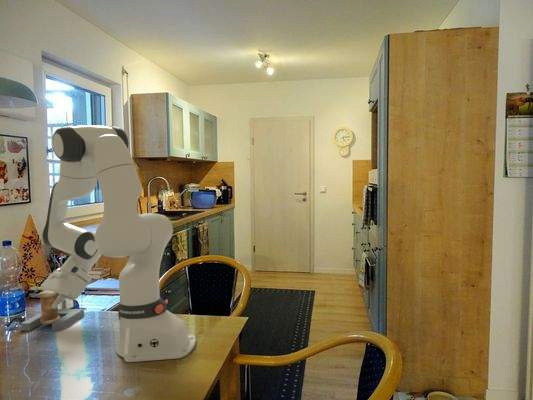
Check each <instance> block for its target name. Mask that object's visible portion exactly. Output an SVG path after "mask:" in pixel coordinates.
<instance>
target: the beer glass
mask: <svg viewBox="0 0 533 400" xmlns="http://www.w3.org/2000/svg"><path fill="white" fill-rule="evenodd" d="M59 269H60V268H56V269H55V270H53V272H56V271H58V270H59ZM53 272H52V273H53ZM57 298H58V296H57ZM74 305H75V304H74V300H71V299H67V298H66V299H65V300H64V301H63V302H62V303H60V304H59V305H58V309H73V308H74Z"/></svg>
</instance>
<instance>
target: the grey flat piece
mask: <svg viewBox="0 0 533 400" xmlns="http://www.w3.org/2000/svg"><path fill="white" fill-rule="evenodd" d="M58 315H59V316H60V319H58V320H57V321H55V322H53V323H51V331H52V332H55V331H57V332H60V331H63V330H65V329H66V328H68V327H70V326H71V325H72V324H74V323H75V322H77V321H78V320H80V319H82V318H83V317H84V316H85V310H84V308H70V309H58ZM41 319H42V315H41V312H40V313H38V314H36V315H33V316H32V317H30V318H28V319H26V320H24V321H22V322H20V331H22V332H26V331H27V332H30V331H31V330H34V329H35V328H36V327H39V326H41V325H42V324H41Z"/></svg>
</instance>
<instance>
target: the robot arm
mask: <svg viewBox="0 0 533 400" xmlns="http://www.w3.org/2000/svg"><path fill="white" fill-rule="evenodd" d="M51 140H52V141H51V145H52V149H53V153H54V154H55V156H56V157H57V158H58V159H59V160H60V162H59V164H60V165H59V178H58V181H57V182H55V183H54V184H53V186H52V188H51V191H50V196H49V201H48V202H49V203H48V210H47V215H46V220H45V225H44V228H43V230H42V241H43V242H44V245H45V246H46V247H49V248H52V249H56V250H59V251H62V252H65V253H66V254H70V256H69V257H68V258H67V259H66V260H65V262H64V263H63V264H62V265H61V267H59V268H58V269H59V270H58V271H56V272H52V273H50V274H49V276H47V278H46V279H45V280H44V281H43V282H42V283H41V285H40V289H41V290H42V292H43V291H48V290H50V291H54V292H57V294H58V295H57V296H58V298H57V299H56V300H55V301H54V302H53V301H52V303H51V304H50V307H51V308H53V309H55V308H56V307H57V306H58V305H59V304H60V303H62V302H63V301H64V300H65V299H66V298H67V299H71V300H73V301H75V300H77V299H78V298H79V297H80V296H81V295H82V293H83V292H84V290H85V289H86V288H87V286H88V284H90V283H91V282H92V281H93V277H92V276H91V275H90V274H89V272H91V269H92V267H93V266H94V264H96V263H97V262H98V261H99V259H100V257H102V255H103V256H104V257H106V258H127V257H128V260H127V262H126V265H124V267H123V269H122V270H121V271H120V273H119V276H118V290H119V292H118V293H119V302H118V320H119V321H120V322H119V337H118V343H117V346H116V350H115V351H116V354H117V355H118V356H119V357H122V358H123V360H124V362H125V363H137V362H147V361H161V360H174V359H175V360H176V359H181V358H184V357H186V356H187V355H189V354H190V353H191V351H193V350H194V348H195V345H196V344H197V339H196V337H195V335H193V334H189V331H188V328H187V327H188V326H187V325H186V324H187V323H186V322H185V321H184V320H183V319H182V318H180V317H178V316H176V314H174V313H172V312H170V311H169V310H167V304H168V303H169V302H168V300H169V299H168V298H167V299H165V300H164V299H162V297H161V296H160V268H161V263H162V259H163V255H164V252H165V249H166V247H167V245H168V243H169V242H170V240H171V239H172V237H173V235H174V234H173V233H174V227H173V224H172V223H173V222H171V219H170V218H169V217H167V215H164V214H160V213H155V212H148V213H141V214H139V212H138V200H139V198H140V197H141V196H142V195H143V185H142V183H141V179H140V177H139V173H138V172H137V167H136V165H135V162H134V159H133V158H132V155H131V151H130V150H129V144H130V143H129V137H128V136H127V134H126V131H125V130H124V129H123V128H120V127H117V126H114V125H109V126H106V125H91V124H90V125H89V124H86V125H85V124H84V125H75V126H70V125H68V126H64V127H63V126H62V127H60V128H57V129H56V130H55V131H54V133H53V134H52V139H51ZM97 182H98V185H99V189H100V192H101V196H102V199H103V200H102V201H103V215H102V220H101V222H100V223H99V225H98V227H97V228H96V229H95V230H93V231H91V230H87V229H84V228H83V227H82V228H81V227H80V226H79V227H78V226H76V225H73V224H71V223H69V222H68V221H67V219H66V217H67V211H68V206H69V205H68V204H69V201H70V200H79V199H83V198H85V197H87V196H89V195H91V193H93V192H94V190H95V189H96V186H97Z"/></svg>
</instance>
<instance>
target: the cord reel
mask: <svg viewBox="0 0 533 400" xmlns="http://www.w3.org/2000/svg"><path fill="white" fill-rule="evenodd" d="M57 295H58V294H57V292H54V291H50V290H48V291H43V290H42V291H40V292H39V293H38V297H39V299H40V311H41V312H40V313H41V315H42V319H41V324H40V325H48V324H49V325H50V324H51V325H52V323H53V322H55V321H57V320H58V319H60V316H59V315H58V306H57V307H56V308H55V309H53V308H51V307H50V304H51V303H52V301H53V302H54V301H55V300H56V299H57Z"/></svg>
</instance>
